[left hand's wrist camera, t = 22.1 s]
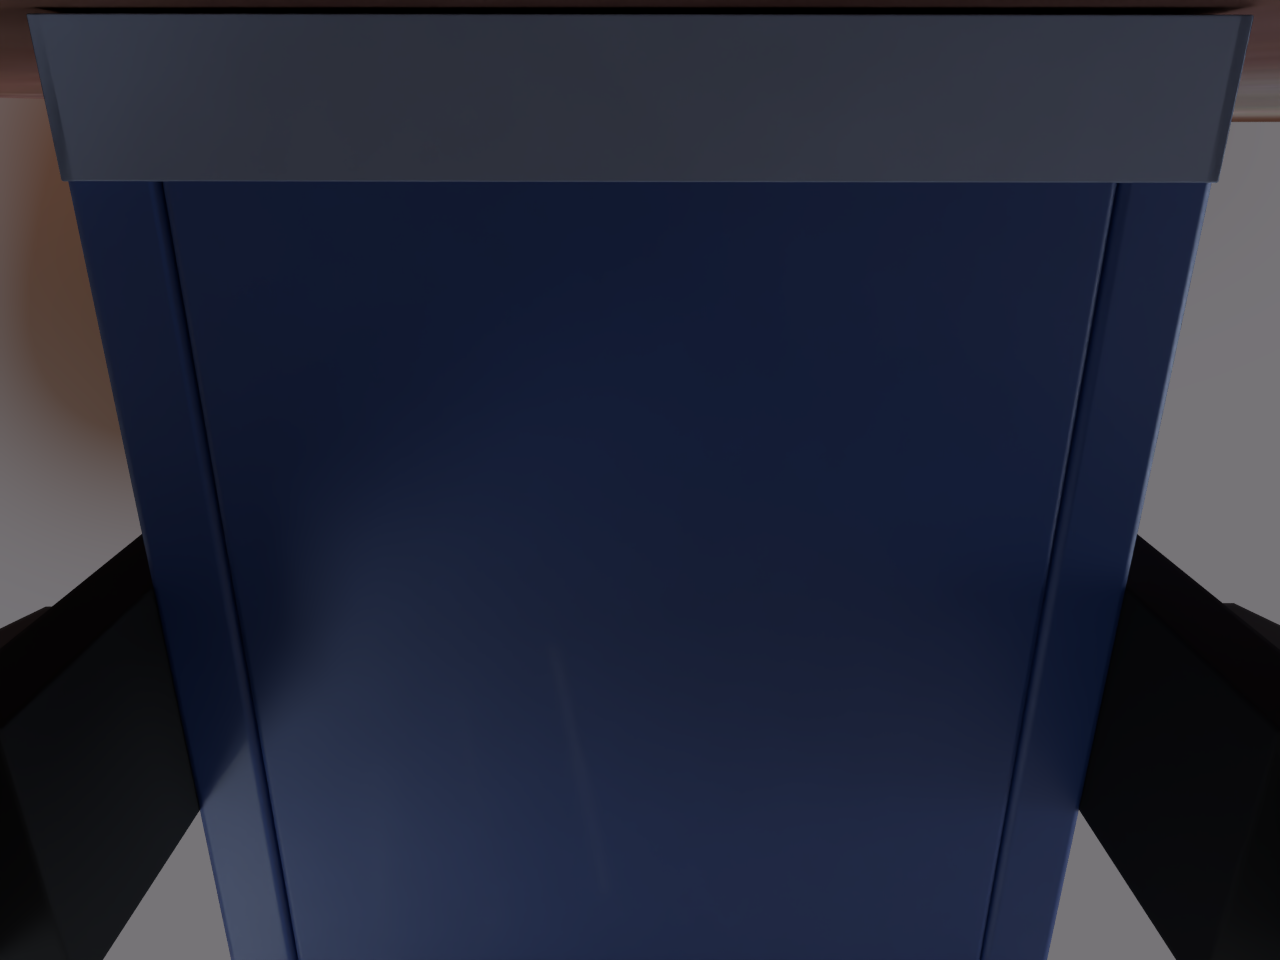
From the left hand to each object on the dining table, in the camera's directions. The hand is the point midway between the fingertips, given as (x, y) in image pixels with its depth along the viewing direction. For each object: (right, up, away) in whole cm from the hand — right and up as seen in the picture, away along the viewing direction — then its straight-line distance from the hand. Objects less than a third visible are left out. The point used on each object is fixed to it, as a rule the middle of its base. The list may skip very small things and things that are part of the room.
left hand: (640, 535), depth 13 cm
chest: (0, +7, +1) cm, 7 cm away
